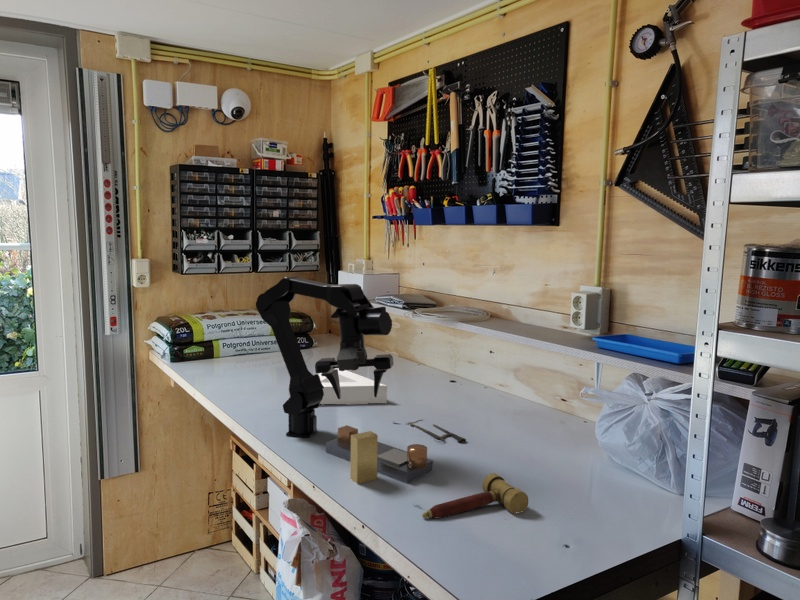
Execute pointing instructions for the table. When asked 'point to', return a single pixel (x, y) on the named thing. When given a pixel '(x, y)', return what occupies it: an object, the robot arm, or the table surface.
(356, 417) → the table surface
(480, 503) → the gavel
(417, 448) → the plane body
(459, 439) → the bar clamp
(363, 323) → the robot arm
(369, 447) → the brushed brass block
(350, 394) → the triangle block
